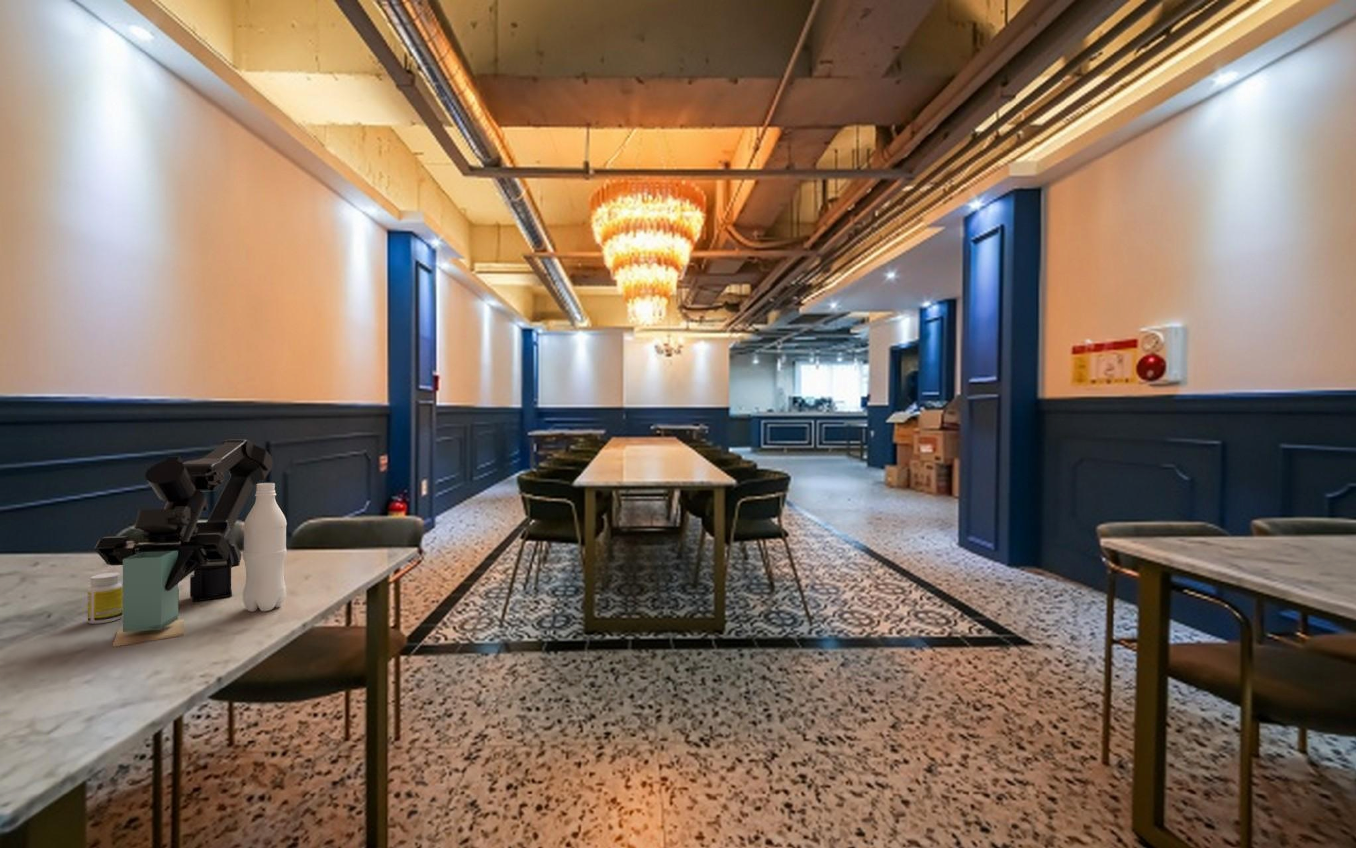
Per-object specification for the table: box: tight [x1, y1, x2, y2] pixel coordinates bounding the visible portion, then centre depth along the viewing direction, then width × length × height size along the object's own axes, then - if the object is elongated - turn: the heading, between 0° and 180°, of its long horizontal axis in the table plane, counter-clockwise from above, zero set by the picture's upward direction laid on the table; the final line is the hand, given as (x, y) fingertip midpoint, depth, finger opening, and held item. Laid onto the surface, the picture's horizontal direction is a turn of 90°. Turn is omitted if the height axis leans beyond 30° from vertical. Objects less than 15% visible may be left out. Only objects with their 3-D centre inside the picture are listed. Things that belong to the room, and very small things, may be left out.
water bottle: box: [242, 482, 288, 613], centre depth 120 cm, size 7×7×25 cm
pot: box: [122, 551, 179, 632], centre depth 106 cm, size 6×6×12 cm
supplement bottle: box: [87, 572, 123, 625], centre depth 112 cm, size 5×5×8 cm
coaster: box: [112, 618, 185, 648], centre depth 106 cm, size 9×9×1 cm
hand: (146, 590), depth 104 cm, fingers closed on pot, 5 cm apart
